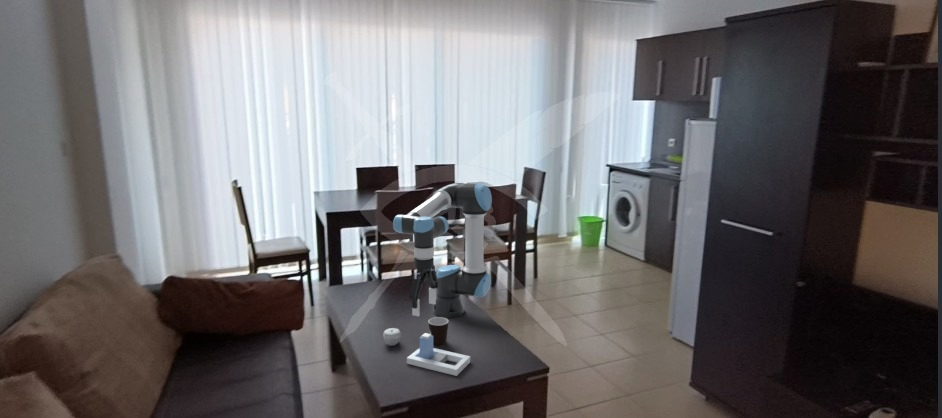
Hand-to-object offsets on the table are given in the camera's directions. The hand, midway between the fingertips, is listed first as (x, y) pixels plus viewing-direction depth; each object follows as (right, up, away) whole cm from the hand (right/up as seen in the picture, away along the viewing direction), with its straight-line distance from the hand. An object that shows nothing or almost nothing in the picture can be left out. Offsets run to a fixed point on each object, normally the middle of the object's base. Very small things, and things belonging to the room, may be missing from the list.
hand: (424, 309), depth 204 cm
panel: (+6, -22, +2) cm, 22 cm away
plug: (+1, -21, +4) cm, 22 cm away
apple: (-15, -19, +18) cm, 30 cm away
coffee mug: (+5, -18, +21) cm, 28 cm away
